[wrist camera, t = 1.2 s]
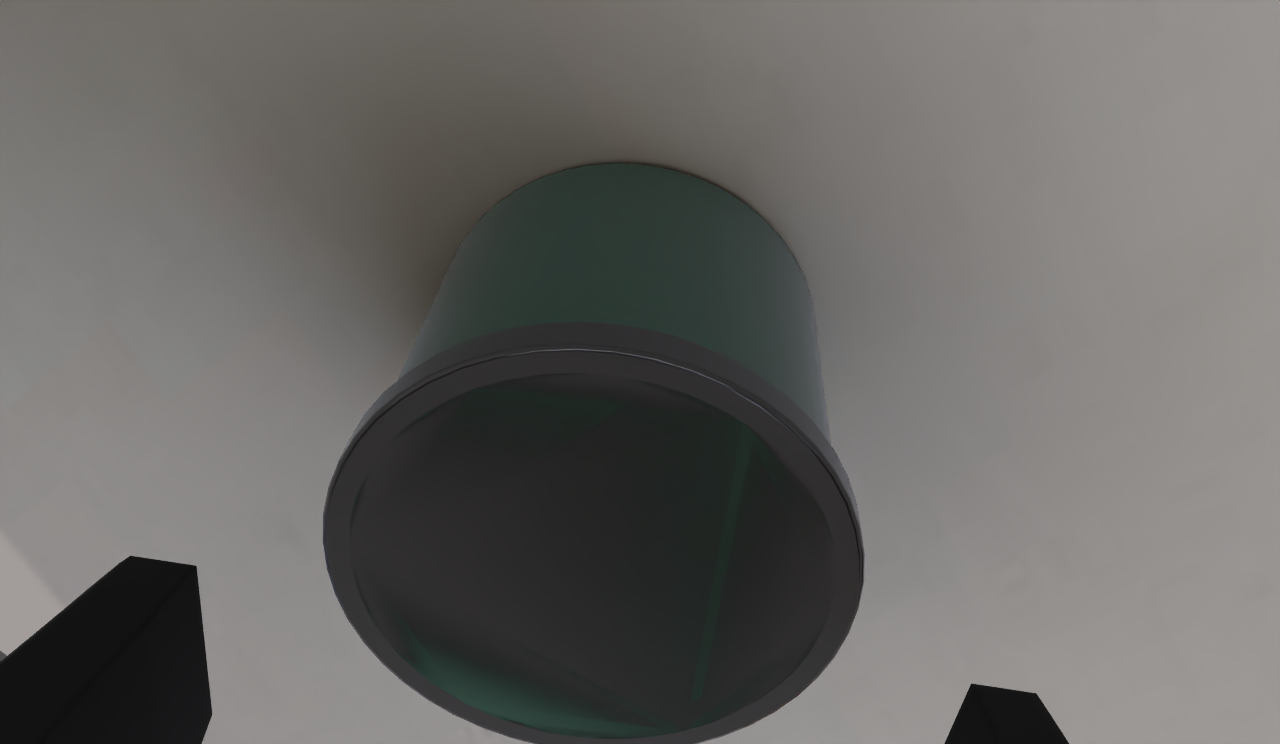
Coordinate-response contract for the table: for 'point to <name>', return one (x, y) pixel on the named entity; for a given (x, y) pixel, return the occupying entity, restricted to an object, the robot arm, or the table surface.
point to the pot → (604, 474)
